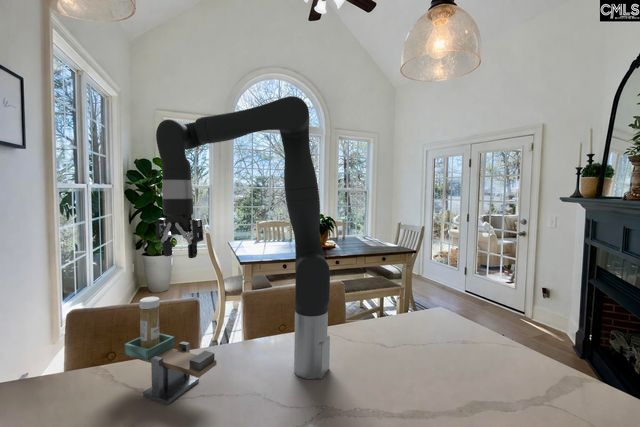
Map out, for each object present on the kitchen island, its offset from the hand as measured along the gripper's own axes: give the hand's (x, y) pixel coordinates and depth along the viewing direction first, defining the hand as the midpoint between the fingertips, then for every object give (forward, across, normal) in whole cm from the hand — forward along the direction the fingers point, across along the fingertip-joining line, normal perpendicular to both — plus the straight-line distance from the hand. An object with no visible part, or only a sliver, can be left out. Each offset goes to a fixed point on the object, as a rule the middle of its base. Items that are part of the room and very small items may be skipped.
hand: (180, 256), depth 87 cm
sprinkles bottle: (+23, +4, +8) cm, 25 cm away
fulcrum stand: (+32, -4, +8) cm, 33 cm away
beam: (+24, -4, +8) cm, 25 cm away
